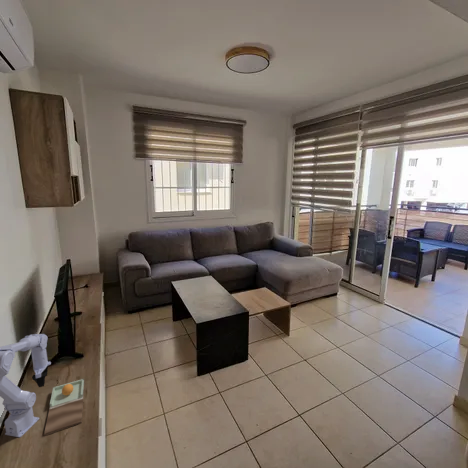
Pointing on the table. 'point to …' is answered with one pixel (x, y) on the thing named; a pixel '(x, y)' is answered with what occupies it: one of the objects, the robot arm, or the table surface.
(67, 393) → the ball
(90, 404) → the table surface
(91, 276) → the table surface
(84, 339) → the table surface
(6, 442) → the table surface
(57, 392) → the tray
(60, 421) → the lane
